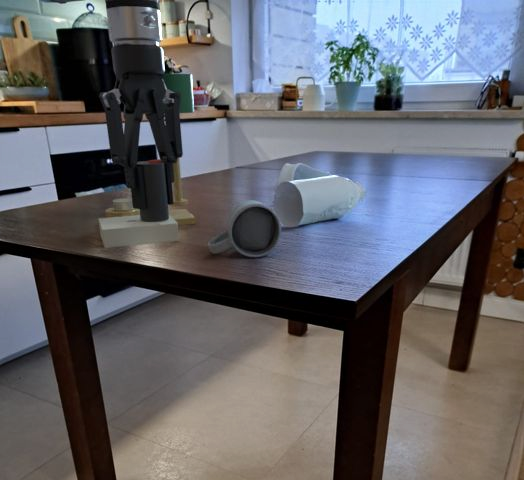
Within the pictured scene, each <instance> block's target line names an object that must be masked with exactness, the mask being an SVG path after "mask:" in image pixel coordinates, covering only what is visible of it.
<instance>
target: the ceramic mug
mask: <svg viewBox="0 0 524 480" xmlns="http://www.w3.org/2000/svg"><path fill="white" fill-rule="evenodd" d="M281 236H282V223H281V222H280V220H279V218H278V216H277V214H276V213H275V211H274V209H272V208H271V207H269V206H267V205H266V204H264V203H263V202H261V201H258V200H254V199H250V200H249V199H248V200H243V201H241V202H239V203H238V204H236V205H235V206H234V207H233V208H232V209H231V211H230V213H229V215H228V217H227V230H225V231H223V232H221V233H219V234H217V235H216V236H214V237H213V238H211V240H209V241H208V243H207V248H208V249H209V251H210V253H211V254H213V255H217V254H221V253H224V252H226V251H228V250H230V249H232V248H234V250H236V251H237V252H238V253H239V254H240V255H242V256H244V257H247V258H262V257H264V256H267V255H270V253H272V252H273V251H274V250H275V248H276V247H277V246H278V244H279V242H280V239H281Z"/></svg>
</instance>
